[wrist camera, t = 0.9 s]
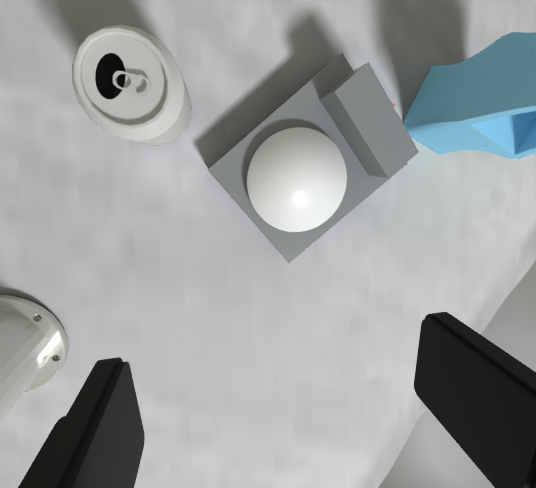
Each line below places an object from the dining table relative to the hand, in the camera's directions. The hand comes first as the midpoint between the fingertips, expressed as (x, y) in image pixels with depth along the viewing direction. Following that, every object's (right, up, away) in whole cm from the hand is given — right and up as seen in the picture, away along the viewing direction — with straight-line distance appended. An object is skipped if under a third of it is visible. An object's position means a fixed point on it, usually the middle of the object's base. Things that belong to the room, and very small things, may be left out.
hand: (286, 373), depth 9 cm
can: (-12, +18, +22) cm, 31 cm away
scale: (+4, +13, +26) cm, 30 cm away
